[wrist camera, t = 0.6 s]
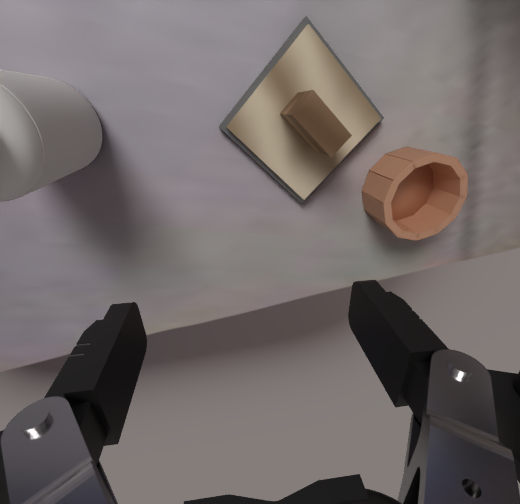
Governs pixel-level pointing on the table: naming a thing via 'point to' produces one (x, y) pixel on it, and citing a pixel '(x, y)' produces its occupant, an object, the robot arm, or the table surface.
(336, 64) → the lid
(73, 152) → the pill bottle
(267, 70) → the mat
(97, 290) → the table surface
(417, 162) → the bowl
